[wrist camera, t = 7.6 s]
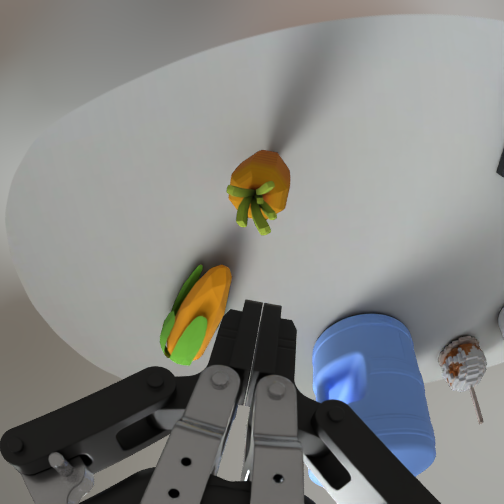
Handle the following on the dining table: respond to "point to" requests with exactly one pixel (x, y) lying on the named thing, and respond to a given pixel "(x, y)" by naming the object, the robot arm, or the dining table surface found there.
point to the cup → (501, 321)
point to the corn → (195, 314)
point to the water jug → (377, 384)
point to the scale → (501, 166)
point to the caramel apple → (464, 367)
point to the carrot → (259, 189)
